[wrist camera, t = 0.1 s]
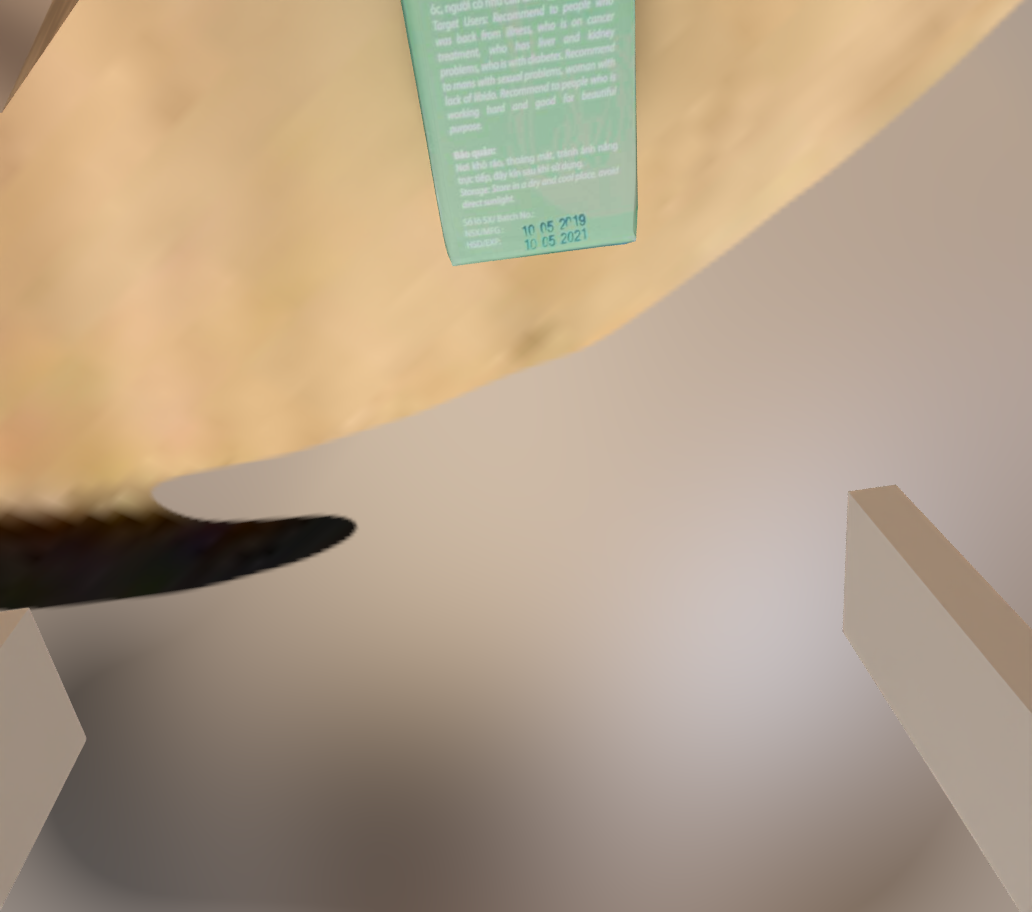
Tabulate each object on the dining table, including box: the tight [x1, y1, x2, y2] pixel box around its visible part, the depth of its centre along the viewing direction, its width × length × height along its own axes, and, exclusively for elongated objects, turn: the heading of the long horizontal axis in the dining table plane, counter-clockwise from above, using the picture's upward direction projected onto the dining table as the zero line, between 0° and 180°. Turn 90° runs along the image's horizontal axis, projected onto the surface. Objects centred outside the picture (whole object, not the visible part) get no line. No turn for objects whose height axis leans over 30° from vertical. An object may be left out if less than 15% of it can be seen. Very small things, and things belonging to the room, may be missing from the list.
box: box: [401, 0, 638, 266], centre depth 32 cm, size 7×14×8 cm, turn 6°
